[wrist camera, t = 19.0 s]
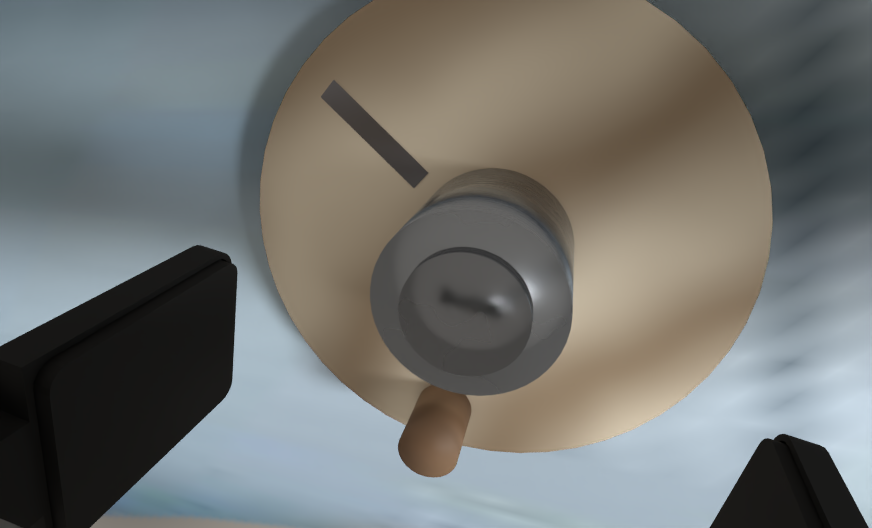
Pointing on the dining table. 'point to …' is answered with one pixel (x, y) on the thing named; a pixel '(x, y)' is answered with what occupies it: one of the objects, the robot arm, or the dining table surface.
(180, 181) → the dining table surface
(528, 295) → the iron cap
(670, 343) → the turntable
